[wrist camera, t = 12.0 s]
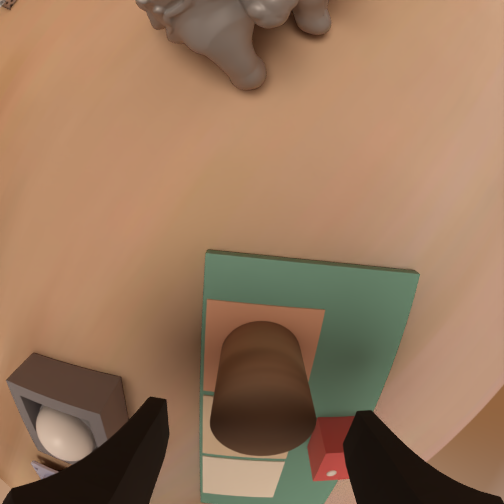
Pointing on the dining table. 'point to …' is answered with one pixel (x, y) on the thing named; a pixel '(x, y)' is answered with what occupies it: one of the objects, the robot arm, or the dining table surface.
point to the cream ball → (64, 434)
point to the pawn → (262, 392)
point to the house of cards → (7, 3)
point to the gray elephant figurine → (232, 29)
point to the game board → (314, 357)
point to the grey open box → (68, 396)
